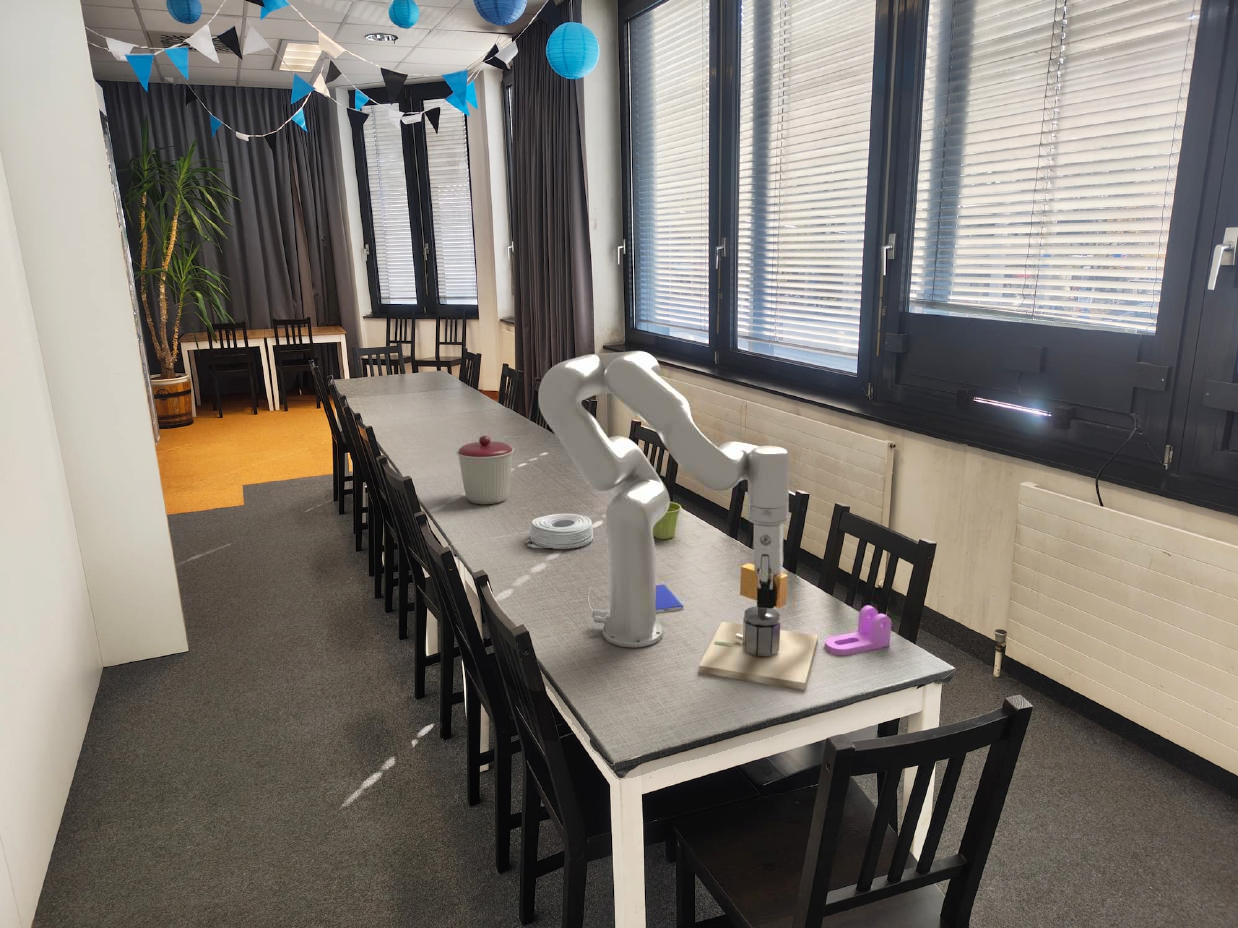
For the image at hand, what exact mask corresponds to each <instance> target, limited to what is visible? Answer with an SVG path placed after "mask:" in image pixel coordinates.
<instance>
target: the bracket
mask: <svg viewBox="0 0 1238 928" xmlns="http://www.w3.org/2000/svg"><path fill="white" fill-rule="evenodd" d="M891 630H892V619H891V618H890V617H889V616H888V615H886V614H884V613H879V611H878V609H877V608H875V607H873V606H872V605H869V604H868V605H864V606H863V607H862V608H861V609H860V611H859V614H858V625H857V631H854V632H848V633H843V634H838V635H833V636H829V637H827V638H826V639H825V640H824V649H825V650H826V651H827V652H828V653H830V654H833V655H838V656H848V655H851V654H852V655H853V654H856V653H857V654H858V653H862V652H867V651H870V650H875V649H880V648H885V647H890V645H891V644H890V642H891V632H892V631H891Z"/></svg>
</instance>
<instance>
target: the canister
mask: <svg viewBox="0 0 1238 928" xmlns="http://www.w3.org/2000/svg"><path fill="white" fill-rule="evenodd" d="M514 451H515V448H514V447H513V446H511V445H509V444H508V443H505V442H501V441H491V438H490V436H489V435H481V436H480V437H479V440H478V441H476V442H470V443H467V444H464V445H462V446H461V447H459V448H458V449H457V450H456V451H455V454H456V455H457V456H458V461H459V467H460V472H461V479H462V484H463V489H464V493H465V497H466V498H467V500H468V501H469V502H471V503H472V504H475V505H476V504H477V505H494V504H498V503H501V502H504V501H505V500H506V499H507V498H508V496H509V494H510V487H511V485H510V484H511V478H512V477H511V476H512V475H511V474H512V464H513V463H512V461H513V453H514Z"/></svg>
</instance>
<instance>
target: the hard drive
mask: <svg viewBox="0 0 1238 928" xmlns="http://www.w3.org/2000/svg"><path fill="white" fill-rule="evenodd" d="M684 608H685V606H684V605H683V604H682V603H681V602H680V600H679V599H678V598H677V597H676V596H675V594H673V592H672V591H671V590H670V588H669V587H668V586H667V585H666V584H663V583H662V584H656V614H657V613H658V614H659V613H665V612H674V611H675V612H676V611H681V610H685V609H684Z"/></svg>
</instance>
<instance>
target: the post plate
mask: <svg viewBox="0 0 1238 928" xmlns="http://www.w3.org/2000/svg"><path fill="white" fill-rule="evenodd" d="M737 633H739V634H741V635H743V623H742V624H741V623H734V622H728V621H722V622H721V623H720V625H719V627H718V629H717V631H716V632H715V634H714V636H713V638H712V640H711V642H710V644H709V646H708V647H707V649H706V651H705V652H704V655H703V657H702V658H701V661H700V662H699V665H698V673H700V674H705V675H709V676H710V675H711V676H717V677H723V678H730V679H734V680H735V679H736V680H742V681H748V682H753V683H758V684H765V685H771V686H777V687H782V688H790V689H795V690H800V691H805V690H806V688H807V684H808V680H809V677H810V676H809V675H810V672H811V668H812V665H813V662H814V656H815V653H816V649H817V645H818V640H819V639H818V638H819V636H818V635H817V634H810V633H803V632H796V631H790V630H783V629H780V642H779V651H778V652H777V653H775V654H773V655H770V656H755V655H753V654H750V653H748V652H745V651H744V648H743V645H742V643H743V641H741V640H739V639H736V638H735V636H736V634H737Z"/></svg>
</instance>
